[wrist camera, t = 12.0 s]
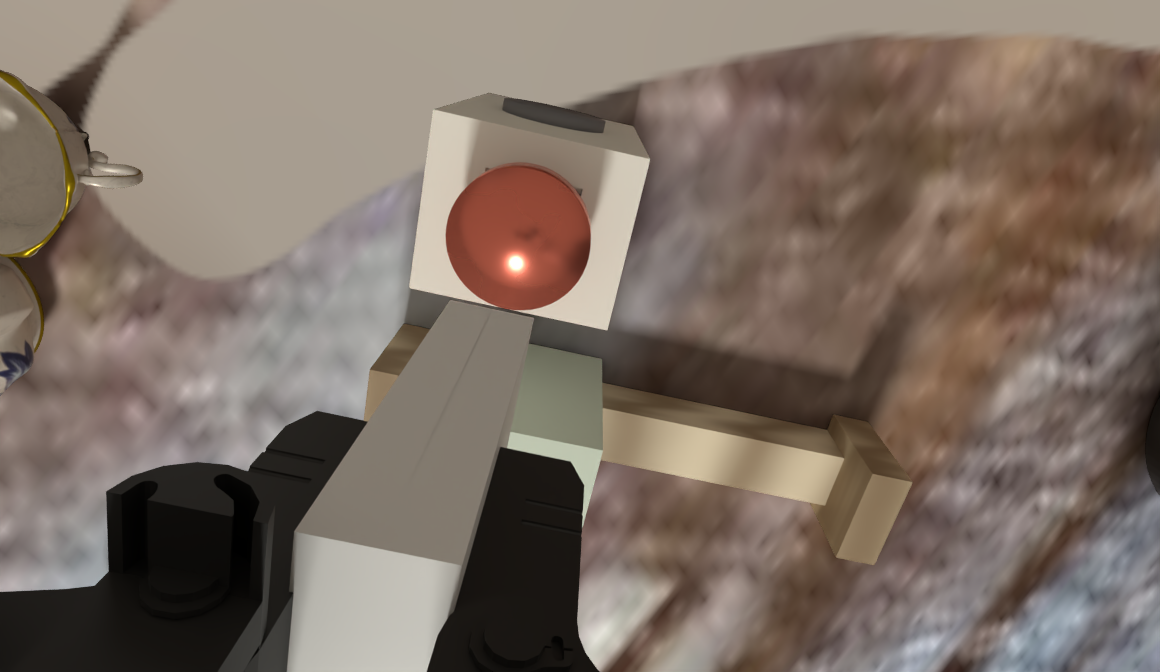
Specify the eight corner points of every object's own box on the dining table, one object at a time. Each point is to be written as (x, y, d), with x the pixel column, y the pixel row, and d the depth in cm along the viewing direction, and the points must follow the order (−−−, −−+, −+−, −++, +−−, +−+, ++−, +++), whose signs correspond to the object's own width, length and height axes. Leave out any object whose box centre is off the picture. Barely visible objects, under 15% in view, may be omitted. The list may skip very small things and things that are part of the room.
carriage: (601, 359, 38) (602, 450, 29) (578, 453, 40) (572, 565, 31) (473, 331, 37) (434, 416, 28) (456, 428, 39) (415, 535, 31)
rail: (867, 421, 39) (912, 482, 33) (836, 495, 41) (874, 565, 35) (403, 323, 38) (369, 369, 32) (392, 405, 39) (358, 462, 34)
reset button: (604, 165, 25) (605, 186, 21) (577, 282, 26) (573, 323, 22) (481, 137, 24) (457, 152, 20) (461, 257, 26) (436, 294, 22)
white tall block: (635, 117, 33) (653, 146, 22) (604, 245, 36) (607, 330, 25) (490, 83, 33) (435, 96, 22) (469, 215, 35) (408, 288, 24)
